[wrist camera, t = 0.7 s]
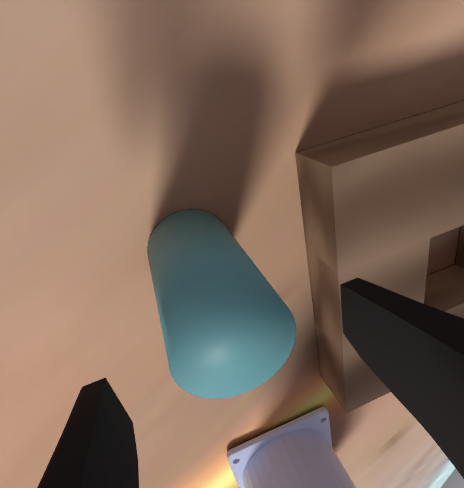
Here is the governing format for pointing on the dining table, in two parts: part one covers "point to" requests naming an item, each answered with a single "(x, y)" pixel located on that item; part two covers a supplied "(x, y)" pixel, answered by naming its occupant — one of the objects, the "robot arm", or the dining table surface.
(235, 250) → the peg
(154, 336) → the dining table surface
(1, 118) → the dining table surface
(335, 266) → the socket block
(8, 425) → the dining table surface
